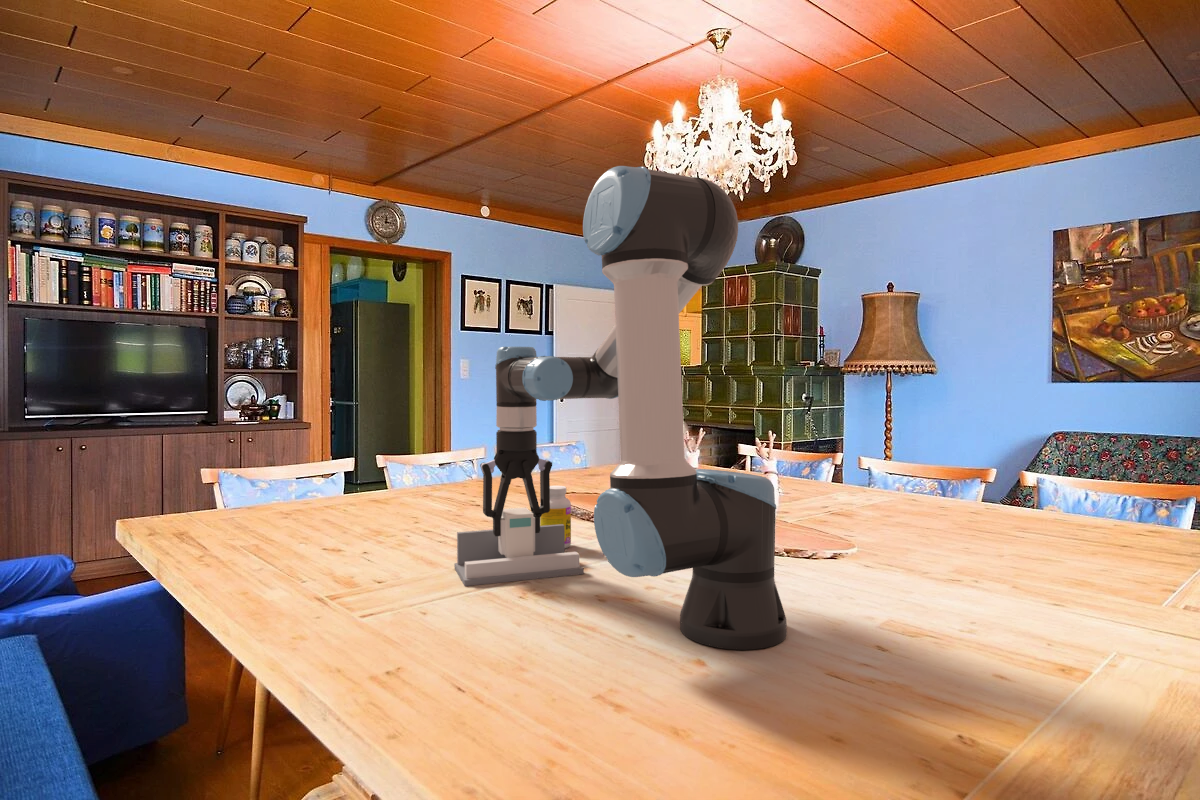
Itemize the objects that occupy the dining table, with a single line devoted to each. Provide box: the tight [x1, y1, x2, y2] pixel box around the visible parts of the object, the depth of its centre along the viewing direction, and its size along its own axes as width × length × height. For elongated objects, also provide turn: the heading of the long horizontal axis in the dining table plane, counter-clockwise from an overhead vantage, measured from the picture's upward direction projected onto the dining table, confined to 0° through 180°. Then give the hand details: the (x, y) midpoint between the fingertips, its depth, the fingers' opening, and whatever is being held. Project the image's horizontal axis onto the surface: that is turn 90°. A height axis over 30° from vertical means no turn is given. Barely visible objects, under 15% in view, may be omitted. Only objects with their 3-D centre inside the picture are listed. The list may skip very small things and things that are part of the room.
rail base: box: [453, 524, 585, 587], centre depth 134 cm, size 12×22×7 cm, turn 110°
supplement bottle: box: [539, 485, 572, 549], centre depth 153 cm, size 7×7×13 cm
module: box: [501, 506, 533, 558], centre depth 135 cm, size 6×5×8 cm
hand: (516, 551), depth 135 cm, fingers closed on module, 5 cm apart
